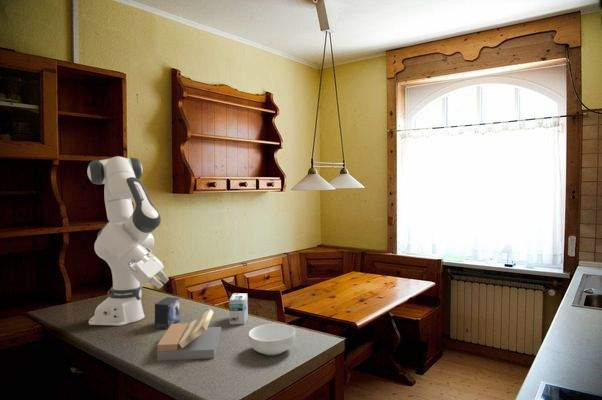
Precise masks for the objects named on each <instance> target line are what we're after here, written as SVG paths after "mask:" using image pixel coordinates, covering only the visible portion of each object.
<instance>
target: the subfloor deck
mask: <svg viewBox="0 0 602 400" xmlns="http://www.w3.org/2000/svg"><path fill="white" fill-rule="evenodd" d="M189 324H190V323H189V322H187V323H186V322H182V323H179V322H178V323H176V324H171V325H170V327H169V328H168V329H166V332H165V333H164V334H163V336H162V337H161V339H160V340H159V341H158V344H157V345H156V347H157V350H156V357H157V358H156V361H157V362H158V361H159V362H160V361H177V360H178V361H180V360H199V359H201V360H203V359H215V356H216V353H217V349H218V347H219V343H220V339H221V337H222V326H212V327H211V326H208V327H207V330H206V331H205V332H204V333H202V334H201V335H199V336H198V337H197V338H195V339H194V340H193V341H191V342H190V343H188V344H187V345H186V346H184V347H183V348H182V347H181V346H180V345H179V342H180V340H181V338H182V337H183V335H184V333H185V331H186V329H187V327H188V326H189Z"/></svg>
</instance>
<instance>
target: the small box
mask: <svg viewBox="0 0 602 400" xmlns="http://www.w3.org/2000/svg"><path fill="white" fill-rule="evenodd" d="M180 307H181V299H180V297H171V296H167V297H165V298H163V299H161V300H159V301H158V302H155V303H154V329H160V330H161V329H162V330H168V328H169V327H170V325H171V324H178V323H179V322H180V321H181V308H180Z"/></svg>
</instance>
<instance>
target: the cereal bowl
mask: <svg viewBox="0 0 602 400" xmlns="http://www.w3.org/2000/svg"><path fill="white" fill-rule="evenodd" d="M296 337H297V335H296V329H295V328H294V327H293V326H291V325H289V324H288V325H287V324H283V323H268V324H267V323H266V324H261V325H259V326H255V327H253V328H252V329H250V330H249V332H248V342H249V345H250V347H251V348H252V349H253V350H254V351H256V352H258V353H261V354H263V355H266V356H277V355H280V354H283V353H284V352H286V351H288V350H290V348H292V346H293V345H294V344H295V341H296Z"/></svg>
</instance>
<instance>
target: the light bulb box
mask: <svg viewBox="0 0 602 400" xmlns="http://www.w3.org/2000/svg"><path fill="white" fill-rule="evenodd" d="M248 299H249V297H248V293H244V292H243V293H239V292H238V293H237V292H235V293H232V295H231V297H230V298H229V302H228V303H229V304H228V305H229V325H245V324H246V322H247V320H248V318H249V313H248V312H249V310H248V309H249V307H248V305H249V303H248V302H249V301H248Z"/></svg>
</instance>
